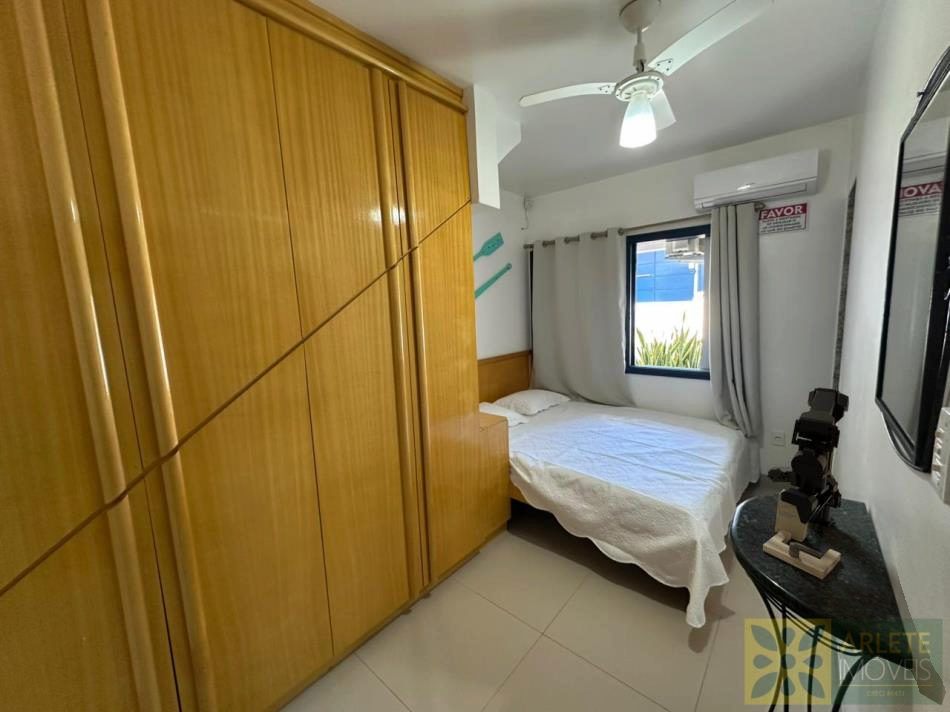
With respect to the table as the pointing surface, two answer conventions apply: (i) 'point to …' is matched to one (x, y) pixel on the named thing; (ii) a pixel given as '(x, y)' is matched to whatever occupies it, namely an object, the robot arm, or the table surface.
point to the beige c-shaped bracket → (801, 555)
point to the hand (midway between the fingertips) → (807, 520)
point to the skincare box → (789, 520)
